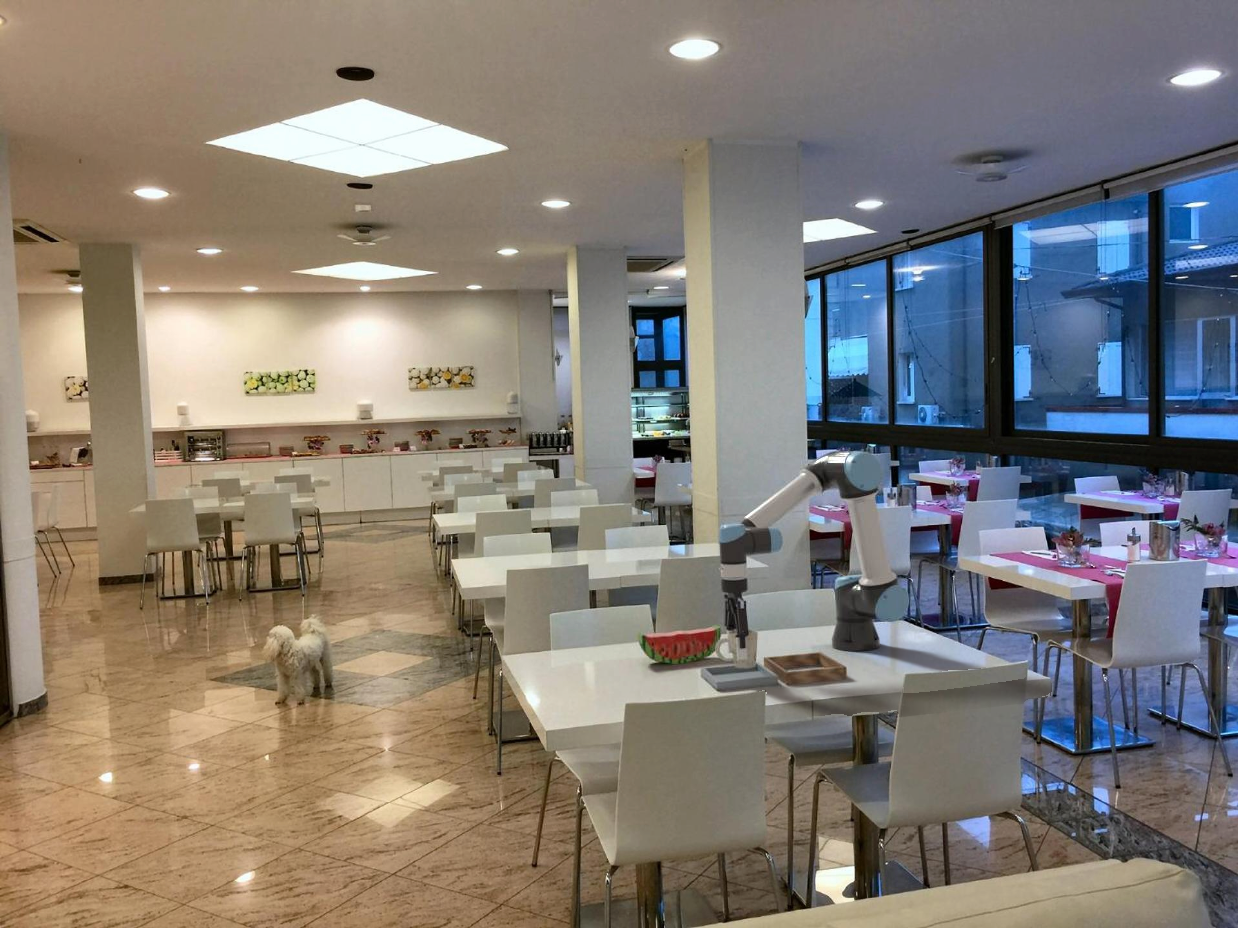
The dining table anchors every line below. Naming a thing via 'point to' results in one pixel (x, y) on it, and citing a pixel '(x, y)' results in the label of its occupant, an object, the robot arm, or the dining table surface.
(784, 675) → the corral
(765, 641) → the dining table surface
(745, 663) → the mug
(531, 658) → the dining table surface
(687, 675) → the dining table surface
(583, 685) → the dining table surface
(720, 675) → the tray
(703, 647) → the fruit slice
